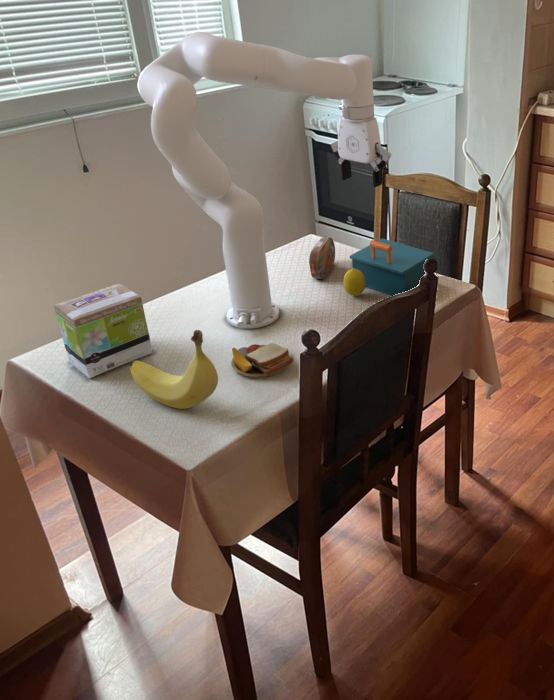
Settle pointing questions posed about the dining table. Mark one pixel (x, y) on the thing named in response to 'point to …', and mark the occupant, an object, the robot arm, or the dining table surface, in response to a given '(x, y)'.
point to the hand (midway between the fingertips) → (362, 182)
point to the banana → (179, 380)
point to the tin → (322, 258)
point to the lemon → (354, 282)
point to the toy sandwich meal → (260, 360)
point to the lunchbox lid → (391, 256)
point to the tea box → (103, 329)
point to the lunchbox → (389, 278)
